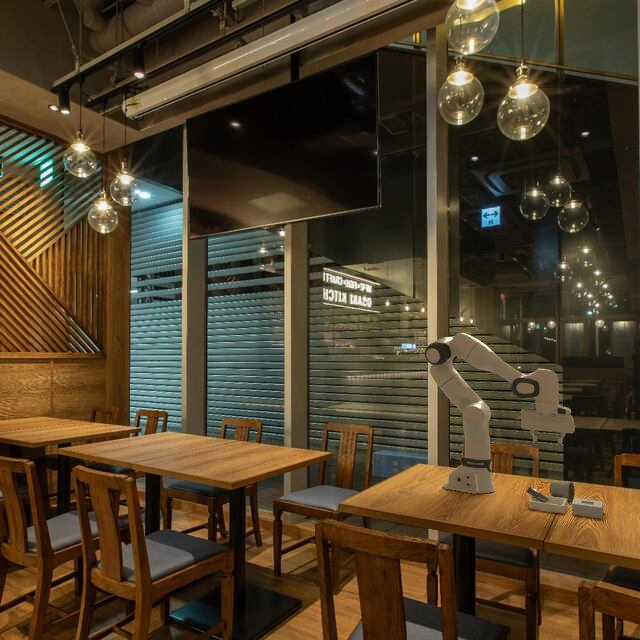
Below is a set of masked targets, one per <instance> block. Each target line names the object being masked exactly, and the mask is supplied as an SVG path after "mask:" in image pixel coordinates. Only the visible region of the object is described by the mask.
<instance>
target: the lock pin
mask: <svg viewBox="0 0 640 640" xmlns="http://www.w3.org/2000/svg"><path fill="white" fill-rule="evenodd" d="M526 492H527V494H529V495H530V496H531V497H532V496H533V497H534V498H535V499H537V500H538V501H540V502H542V503H547V502H548V500H549V499H548V498H547V497H545V496H546V495H544V494H542V492H540V491H538V490H537V489H536V488H534V487H533V486H531V485H530V486H529V487H528V488H527V489H526Z"/></svg>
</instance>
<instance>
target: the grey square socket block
mask: <svg viewBox="0 0 640 640" xmlns="http://www.w3.org/2000/svg"><path fill="white" fill-rule="evenodd" d="M571 509H572V510H571V511H572V515H574V516H580V517H582V516H583V517H586V518H587V517H588V518H594V519H600V520H602V519H603V518H604V517H603V515H604V501H602V500H601V501H600V500H596V499H595V500H594V499H587V498H578V497H574V499H573V501H571Z"/></svg>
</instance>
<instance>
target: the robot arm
mask: <svg viewBox="0 0 640 640" xmlns="http://www.w3.org/2000/svg"><path fill="white" fill-rule="evenodd" d="M424 356H425V359H426V361H427V363H429V364H430V366H429V373H430V376H431V377H432V379H433V381H434V382H435V383H436V385H437V386H438V387H439V389H440V390H441V391H442V392H443V394H445V396H446V398H448V400H449V402H451V403H452V404H453V405H454V406H455V407H456V408H457V409H458V410H459V411H460V412H461V413H462V424H463V426H462V429H463V433H464V455H463V456H461V458H460V459H459V462H460V465H458V466H457V467H456V468H455V469H453V470H452V471H450V472H449V475H448V478H447V481H446V482H444V483H443V484H442V485H443V486H442V488H443V489H445V490H450V491H451V490H452V491H455V490H456V492H462V493H466V492H467V494H471V493H472V495H478V494H489V493H490V492H491V493H493V492H495V490H496V489H495V487H494V482H493V476H492V470H493V462H492V461H493V460H492V458H491V438H490V426H489V421H490V419H491V417H492V411H491V408H490V407H489V406H488V404H487V403H486V402H485V401H484V400H483V399H482V398H481V397H480V395H478V393H476V392H475V390H473V389H472V387H470V386H469V384H468V383H467V382H466V380H464V378H463V377H462V376H461V375H460V373H459V372H458V371H457V370H456V368H455V367H454V365H453V362H456V360H457V358H461V359H462V360H463V361H464V362H466V363H467V364H469V365H471V367H473V368H476V369H478V370H480V371H485V372H490V373H493V374H496V375H498V376H500V377H502V378H503V379H504V380H506V381H507V382H509V383H511V392H512V394H513V395H514V396H515V397H516V398H519V399H520V400H529V399H531V400H532V399H535V406H534V407H531V406H530V407H529V406H525V407H523V408H521V409H520V417H521V422H520V427H521V429H522V430H529V433H530V435H531V436H532V441H533V442H538V436H536V435H535V431H539V432H541V431H542V432H551V433H553V432H554V433H560V436H561V437H560V438H558V439H557V444H558V445H562V444H563V439H564V437H565V436H566V434H573V433H575V428H576V427H575V421H574V418H573V415H571V413H572V410H571V408H569V407H566V406H564V405H560V399H559V396H558V395H559V392H560V389H559V387H560V386H559V385H560V384H559V377H558V374H557V373H556V372H555V371H553V370H551V369H545V368H537V369H536V370H535V371H533V372H530V373H528V374H525V373H523V372H521V371H519V370H517V368H514V367H513V366H512V365H511V364H508V363H507V362H506V361H504V360H503V358H501V357H500V356H499V355H497V354H496V353H495V352H494V351H493V350H492V349H491V348H490V347H489V346H487V345H486V344H485V343H484V342H481V340H479V339H477V338H476V337H474V336H472V335H469V334H468V333H465V332H458V333H456V334H455V335H454V336H453V335H448V336H447V335H446V336H444V337H442V338H441V337H440V338H438V339H437V340H435V341H433V342H430V344H428V346H427V347H426V348H425V350H424ZM477 493H478V494H477Z"/></svg>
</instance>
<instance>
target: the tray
mask: <svg viewBox="0 0 640 640" xmlns="http://www.w3.org/2000/svg"><path fill="white" fill-rule="evenodd" d="M544 496H545V497H547V498H548V499H549V500H548V502H547V503H542V502H540V501H538V500H537V499H535V498H534V497H533V496H531V497H530V498H529V500H528V509H529V510H532V511H533V510H534V511H541V512H547V513H556V514H561V515H564V514H565V513H566V511H567V508H568V506H569V505H568V501H567V499H566V498H559V497H551V495H550V496H549V495H544Z"/></svg>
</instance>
